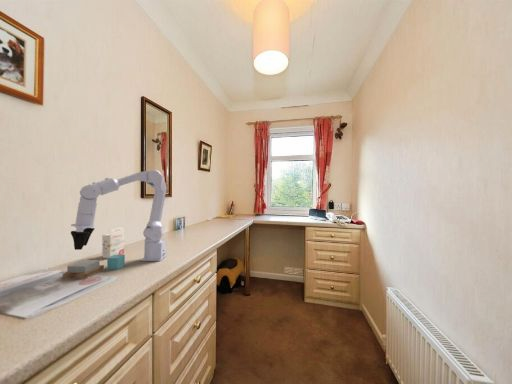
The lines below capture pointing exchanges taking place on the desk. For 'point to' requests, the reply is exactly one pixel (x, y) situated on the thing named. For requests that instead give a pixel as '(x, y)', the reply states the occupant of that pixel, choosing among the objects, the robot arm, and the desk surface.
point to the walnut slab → (84, 275)
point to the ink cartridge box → (113, 243)
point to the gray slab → (83, 266)
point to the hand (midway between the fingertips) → (80, 247)
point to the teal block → (115, 262)
